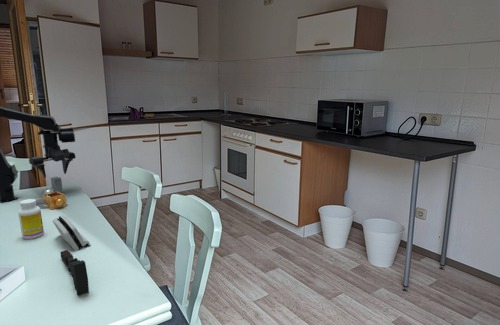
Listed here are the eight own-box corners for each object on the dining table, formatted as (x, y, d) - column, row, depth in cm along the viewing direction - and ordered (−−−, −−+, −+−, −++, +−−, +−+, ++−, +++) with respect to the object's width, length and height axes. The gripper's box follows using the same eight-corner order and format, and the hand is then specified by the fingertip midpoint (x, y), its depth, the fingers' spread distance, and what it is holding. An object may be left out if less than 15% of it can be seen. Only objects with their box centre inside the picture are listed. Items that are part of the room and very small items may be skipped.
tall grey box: (52, 193, 170) (50, 177, 169) (59, 192, 173) (57, 176, 171) (56, 195, 168) (54, 179, 166) (63, 193, 170) (61, 177, 169)
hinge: (91, 245, 117) (77, 222, 113) (77, 254, 115) (62, 230, 110) (75, 230, 129) (62, 208, 125) (62, 238, 127) (48, 215, 122)
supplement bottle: (46, 235, 125) (41, 200, 122) (25, 241, 121) (19, 205, 118) (40, 229, 130) (35, 196, 127) (19, 235, 125) (14, 201, 122)
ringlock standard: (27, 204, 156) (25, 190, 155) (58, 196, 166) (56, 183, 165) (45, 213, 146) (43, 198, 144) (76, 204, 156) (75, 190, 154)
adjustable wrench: (72, 272, 111) (90, 294, 90) (62, 274, 109) (78, 297, 89) (67, 245, 110) (85, 262, 90) (58, 248, 109) (73, 265, 88)
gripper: (36, 148, 153) (41, 183, 156) (79, 142, 167) (83, 174, 171) (26, 145, 159) (31, 178, 163) (68, 140, 174) (71, 170, 177)
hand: (55, 175), depth 168 cm, fingers open, 9 cm apart
